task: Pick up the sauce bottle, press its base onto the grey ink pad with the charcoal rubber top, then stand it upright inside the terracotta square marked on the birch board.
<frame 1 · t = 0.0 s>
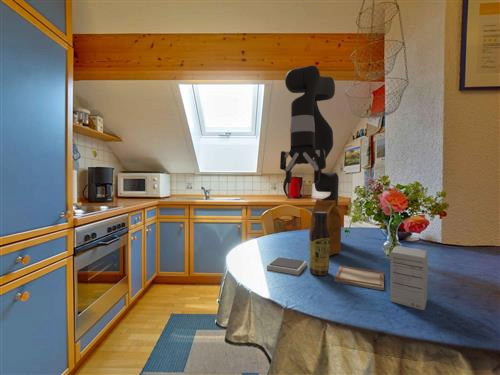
hand: (302, 183, 81), 29 cm above the table, tool pointing down, fingers open, 8 cm apart
marked board: (359, 278, 78), on the table
sauce bottle: (319, 273, 83), on the table
supplement box: (408, 301, 64), on the table
coffee package: (324, 252, 106), on the table
ink pad: (287, 267, 88), on the table
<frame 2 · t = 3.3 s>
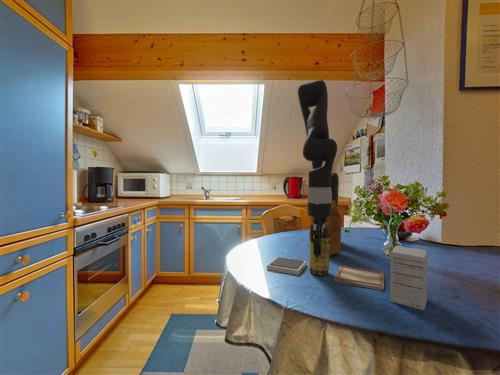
hand: (319, 252, 83), 7 cm above the table, tool pointing down, fingers closed on sauce bottle, 6 cm apart
sauce bottle: (319, 273, 83), on the table, touching gripper
everything else where it was.
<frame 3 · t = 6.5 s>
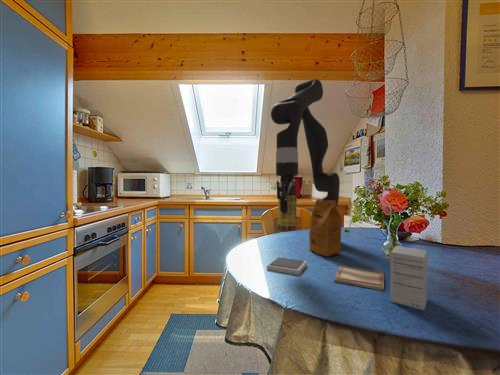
hand: (287, 210, 87), 20 cm above the table, tool pointing down, fingers closed on sauce bottle, 6 cm apart
sauce bottle: (287, 230, 88), point 13 cm above the table, touching gripper
everything else where it was.
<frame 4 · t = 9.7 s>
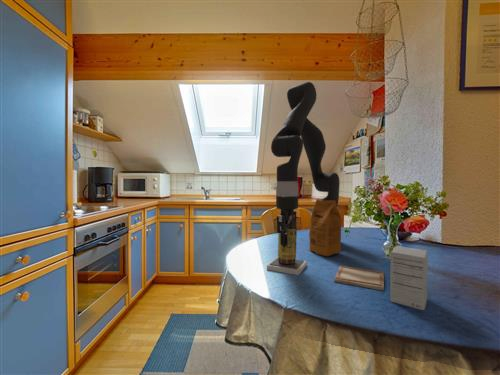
hand: (287, 242, 88), 9 cm above the table, tool pointing down, fingers closed on sauce bottle, 6 cm apart
sauce bottle: (287, 262, 88), point 2 cm above the table, touching gripper
everything else where it was.
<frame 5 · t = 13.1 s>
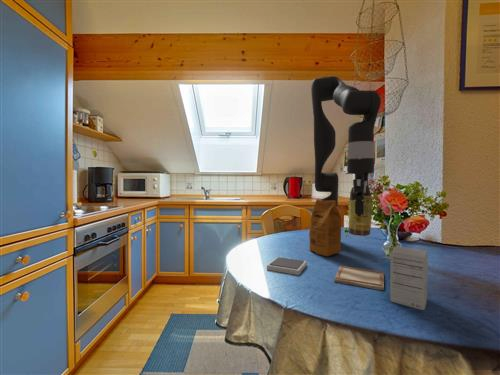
hand: (360, 212, 78), 20 cm above the table, tool pointing down, fingers closed on sauce bottle, 6 cm apart
sauce bottle: (359, 234, 78), point 13 cm above the table, touching gripper
everything else where it was.
when the fingers open (8 cm above the table, at t = 16.2 s): sauce bottle stays where it is, resting on marked board.
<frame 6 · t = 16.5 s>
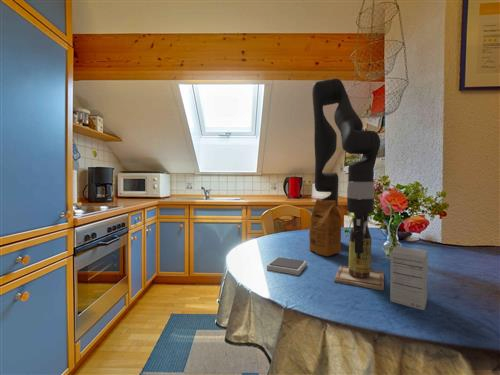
hand: (359, 249, 78), 9 cm above the table, tool pointing down, fingers open, 8 cm apart
sauce bottle: (359, 275, 79), point 1 cm above the table, touching marked board
everything else where it was.
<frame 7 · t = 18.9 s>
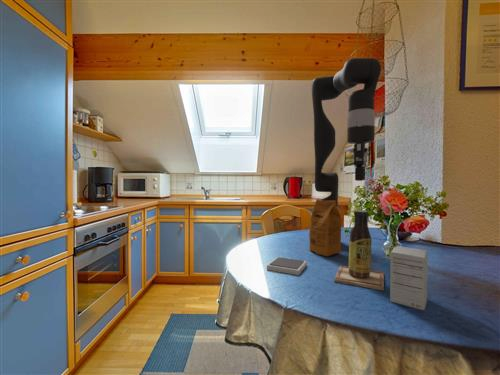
hand: (360, 180, 77), 30 cm above the table, tool pointing down, fingers open, 8 cm apart
nothing on the table moved.
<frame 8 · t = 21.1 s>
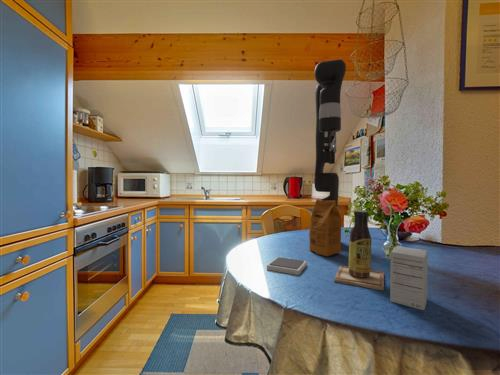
hand: (329, 163, 92), 36 cm above the table, tool pointing down, fingers open, 8 cm apart
nothing on the table moved.
at the end: sauce bottle 0.3 cm off-centre on the marked board, point 0.6 cm above the marked board's base; sauce bottle tilted 0°; the gripper is holding nothing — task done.
